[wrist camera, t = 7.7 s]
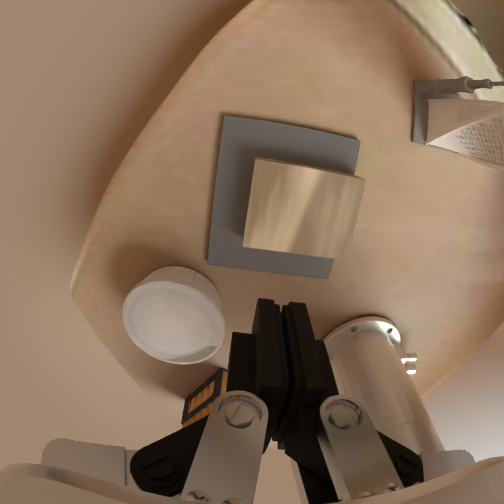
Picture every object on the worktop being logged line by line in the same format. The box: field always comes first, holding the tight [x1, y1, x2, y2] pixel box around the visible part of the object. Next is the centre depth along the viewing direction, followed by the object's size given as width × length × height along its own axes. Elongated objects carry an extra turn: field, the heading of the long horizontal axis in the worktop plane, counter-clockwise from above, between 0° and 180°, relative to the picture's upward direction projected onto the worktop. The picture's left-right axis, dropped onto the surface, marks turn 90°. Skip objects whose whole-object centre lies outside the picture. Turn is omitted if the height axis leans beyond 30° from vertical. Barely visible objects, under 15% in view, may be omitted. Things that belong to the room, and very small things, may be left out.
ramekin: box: [122, 266, 225, 364], centre depth 30 cm, size 11×11×5 cm
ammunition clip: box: [181, 368, 228, 428], centre depth 33 cm, size 11×2×12 cm, turn 143°
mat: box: [207, 115, 360, 279], centre depth 27 cm, size 13×15×1 cm
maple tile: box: [243, 157, 366, 260], centre depth 26 cm, size 2×8×10 cm
